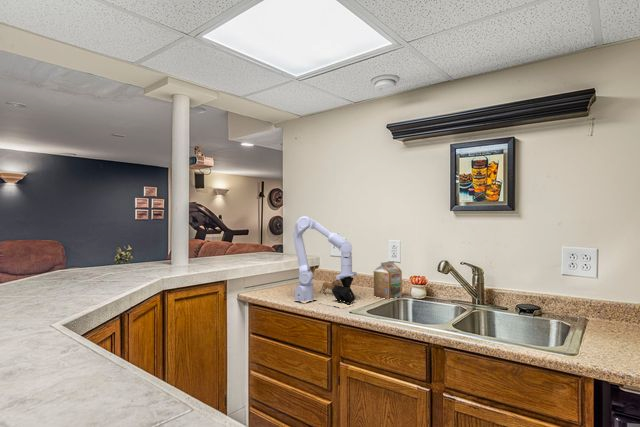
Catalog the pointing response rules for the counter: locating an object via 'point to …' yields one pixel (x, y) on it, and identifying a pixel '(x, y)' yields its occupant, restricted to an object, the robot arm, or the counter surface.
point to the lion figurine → (331, 285)
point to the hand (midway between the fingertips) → (346, 291)
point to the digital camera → (343, 293)
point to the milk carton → (388, 280)
